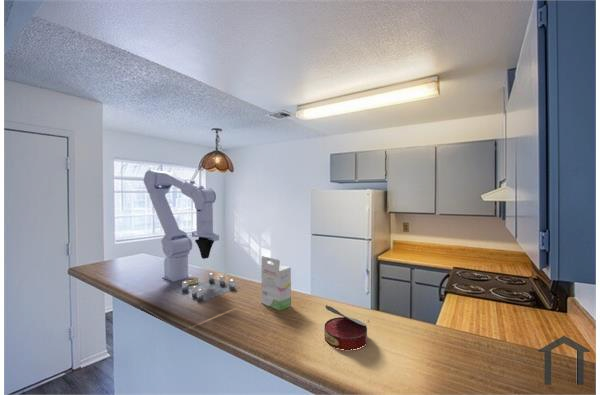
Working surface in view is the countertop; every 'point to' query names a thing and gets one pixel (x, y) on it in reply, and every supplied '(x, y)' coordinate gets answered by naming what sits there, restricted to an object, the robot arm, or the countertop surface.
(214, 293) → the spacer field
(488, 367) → the countertop surface
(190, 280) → the brass nut
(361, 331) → the canned food
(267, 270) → the ink box
